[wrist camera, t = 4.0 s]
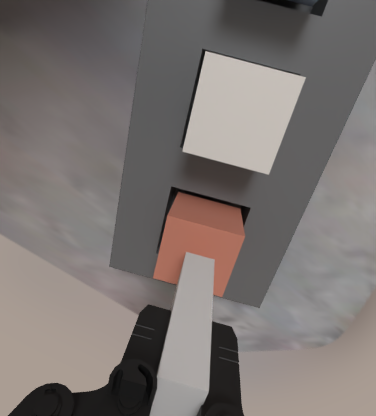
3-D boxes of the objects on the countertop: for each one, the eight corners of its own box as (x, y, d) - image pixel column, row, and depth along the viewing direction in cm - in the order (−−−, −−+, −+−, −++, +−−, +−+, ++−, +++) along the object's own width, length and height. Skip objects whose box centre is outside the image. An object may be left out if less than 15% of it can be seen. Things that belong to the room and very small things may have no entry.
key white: (191, 139, 17) (182, 151, 13) (209, 62, 15) (205, 51, 11) (258, 158, 17) (268, 174, 13) (284, 82, 15) (305, 77, 11)
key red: (165, 244, 20) (152, 278, 16) (178, 191, 18) (167, 215, 14) (222, 260, 20) (222, 297, 16) (240, 208, 18) (245, 236, 14)
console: (126, 241, 24) (109, 266, 20) (197, -178, 14) (188, -280, 10) (253, 275, 24) (259, 307, 20) (422, -122, 13) (498, -205, 10)
